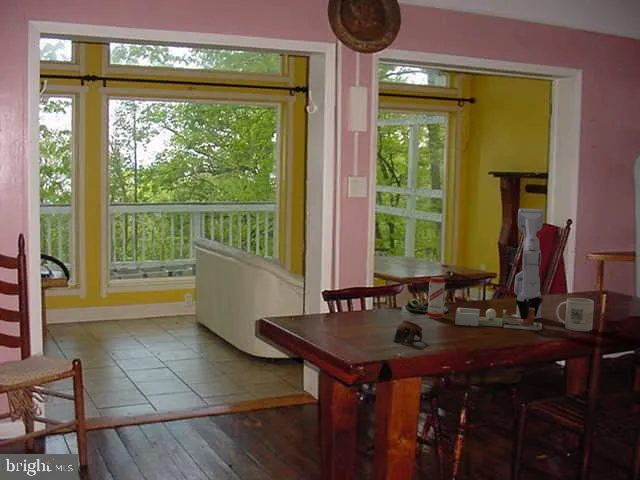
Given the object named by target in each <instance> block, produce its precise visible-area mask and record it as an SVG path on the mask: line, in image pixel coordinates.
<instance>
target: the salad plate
mask: <svg viewBox="0 0 640 480" xmlns="http://www.w3.org/2000/svg"><path fill="white" fill-rule="evenodd" d="M451 307H452V305H445V304H444V314H445V313H447V312H448V311H449V309H448V308H451ZM405 310H407V311H408V312H410V313H413V314H418V315H420V314H422V315H428V301H426V302H425V303H422V302H420V300H419V299H417V298H414V297H411V298H409V299H408V301H407V303H406V304H405Z"/></svg>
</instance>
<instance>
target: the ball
mask: <svg viewBox="0 0 640 480" xmlns="http://www.w3.org/2000/svg"><path fill="white" fill-rule="evenodd" d="M496 316H497V312H496V310H495V309H493V308H488V309H487V310H486V312H485V317H487V318H488V319H494V318H497V317H496Z"/></svg>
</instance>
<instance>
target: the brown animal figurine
mask: <svg viewBox="0 0 640 480" xmlns="http://www.w3.org/2000/svg"><path fill="white" fill-rule="evenodd" d="M396 328H397V329H396V331H395V333H394V335H393V342H396V343H400V344H401V345H402V344H403V345H405V341H406V342H407V343H413V342H414V340H415V337H416V336H417V337H418V338H419V342H422V340H423V333H422V331H423V330H424V329H423V327H422V326H420V325H419V324H417V323H415V322H412V321H409V320H403V321H402V323H400V324H399V325H398V326H397V327H396Z"/></svg>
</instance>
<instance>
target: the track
mask: <svg viewBox="0 0 640 480" xmlns="http://www.w3.org/2000/svg"><path fill="white" fill-rule="evenodd" d="M506 323H508V324H506ZM535 323H536V327H530V326H520V322H517V321H503V317H495V318H494V319H488V318H487V317H486V316H478V326H487V327H498V328H499V327H501V328H502V327H503V328H505V329H514V330H515V329H517V330H529V331H541V330H542V331H543V327H542V326H543V325H542V322H535Z"/></svg>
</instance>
